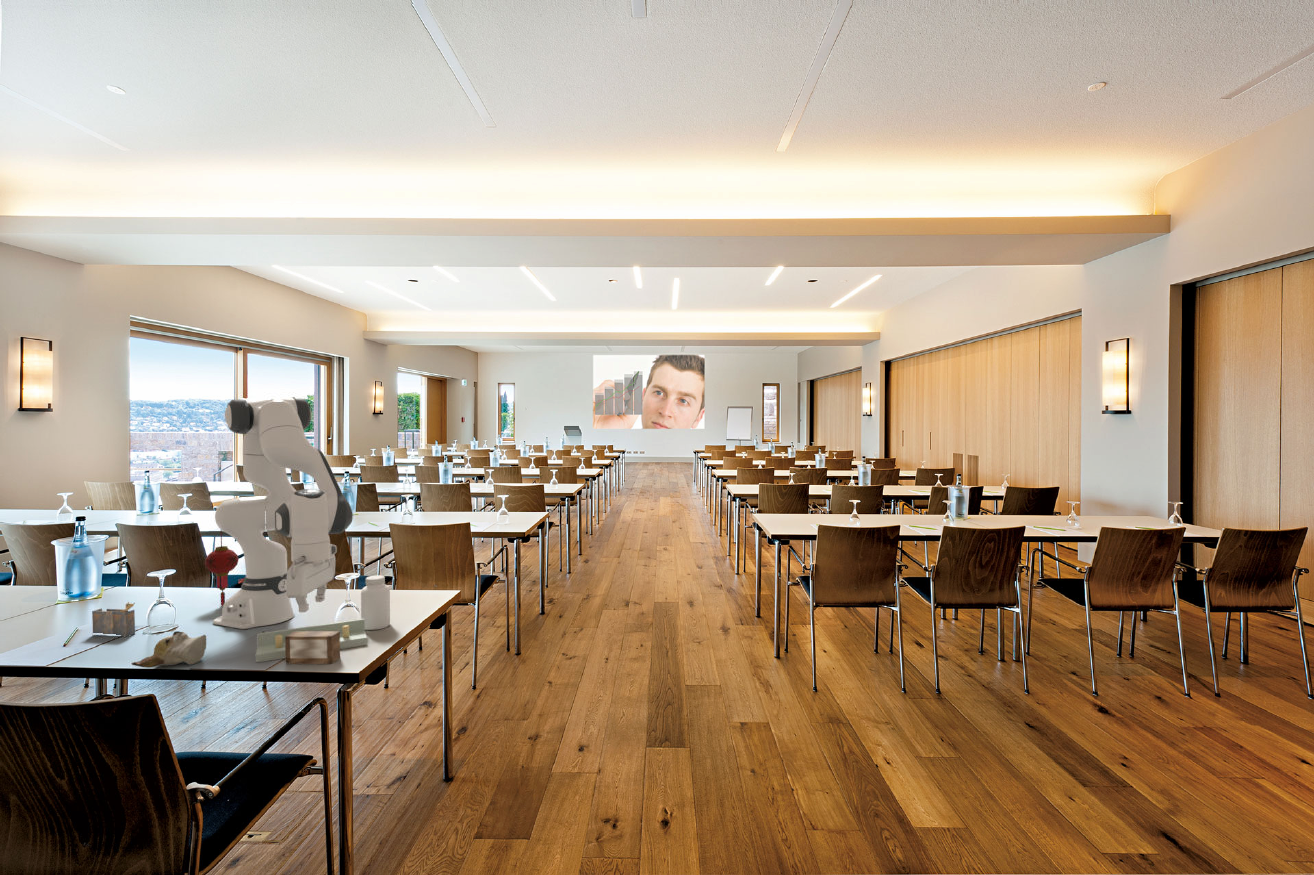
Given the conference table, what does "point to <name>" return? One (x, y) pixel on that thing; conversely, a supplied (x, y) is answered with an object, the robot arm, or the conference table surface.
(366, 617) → the pill bottle
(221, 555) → the lantern
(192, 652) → the ceramic sculpture
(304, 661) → the wooden box
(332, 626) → the ledge
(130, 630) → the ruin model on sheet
